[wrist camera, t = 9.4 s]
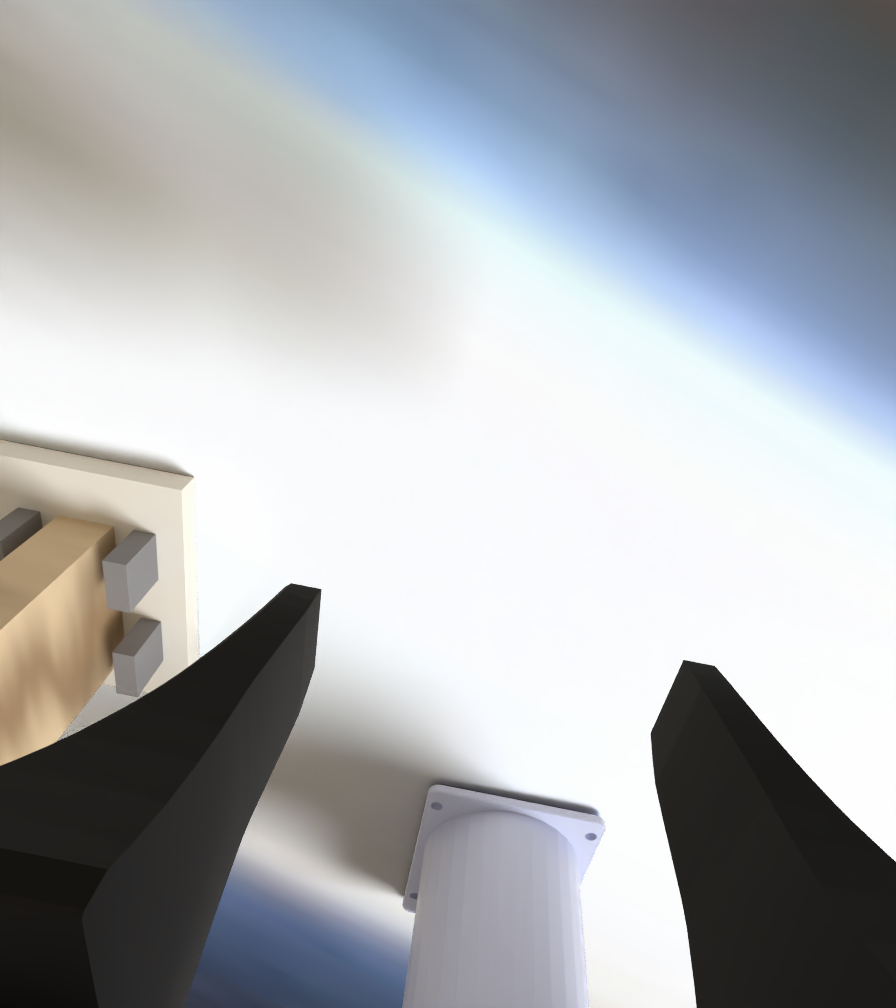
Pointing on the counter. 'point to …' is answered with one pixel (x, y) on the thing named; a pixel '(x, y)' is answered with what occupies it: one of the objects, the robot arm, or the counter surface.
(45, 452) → the cream pegged base plate
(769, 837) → the robot arm
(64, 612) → the wooden block
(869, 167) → the counter surface
